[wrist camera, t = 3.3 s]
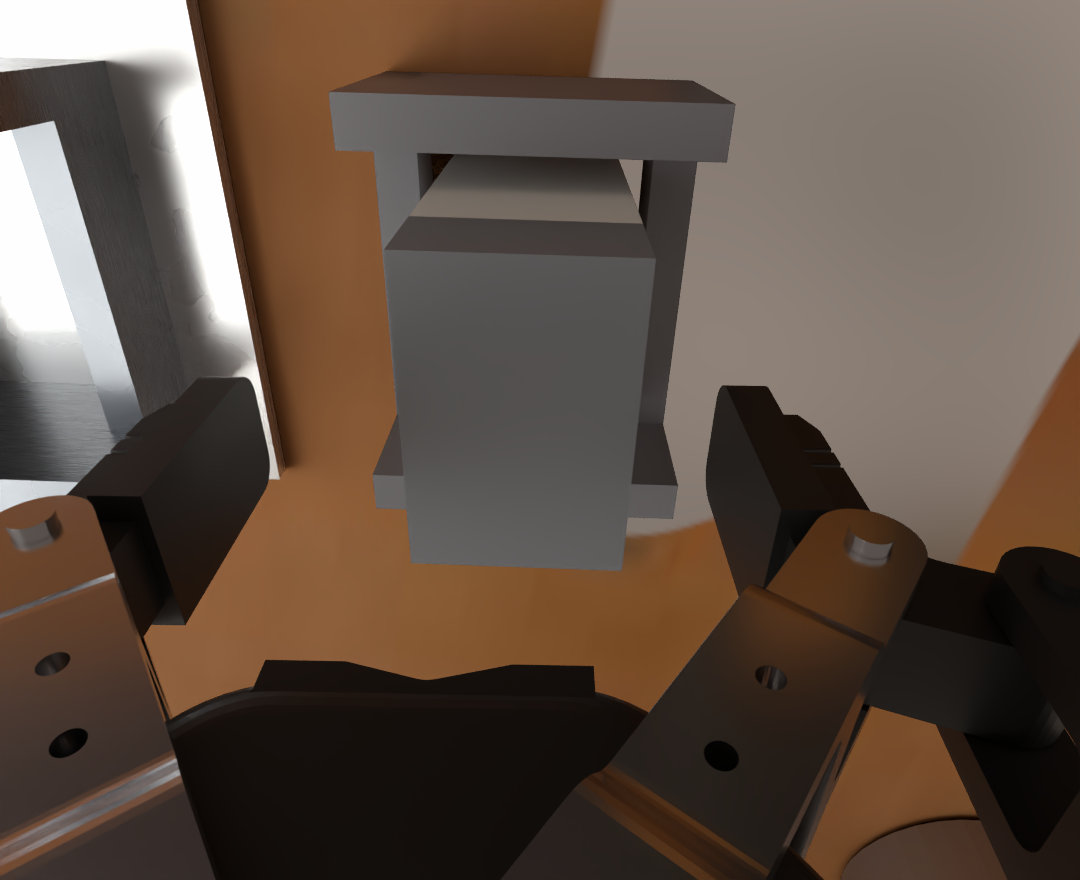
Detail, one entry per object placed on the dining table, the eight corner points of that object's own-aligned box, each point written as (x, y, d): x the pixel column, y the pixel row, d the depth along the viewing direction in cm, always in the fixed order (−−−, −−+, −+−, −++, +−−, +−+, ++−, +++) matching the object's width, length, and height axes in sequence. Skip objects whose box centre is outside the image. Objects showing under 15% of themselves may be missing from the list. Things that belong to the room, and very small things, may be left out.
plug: (616, 153, 18) (655, 258, 10) (600, 367, 21) (621, 570, 14) (459, 147, 18) (383, 249, 11) (465, 363, 21) (411, 562, 14)
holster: (692, 80, 17) (735, 104, 13) (651, 420, 22) (672, 519, 18) (386, 71, 17) (328, 92, 13) (412, 411, 22) (376, 507, 18)
